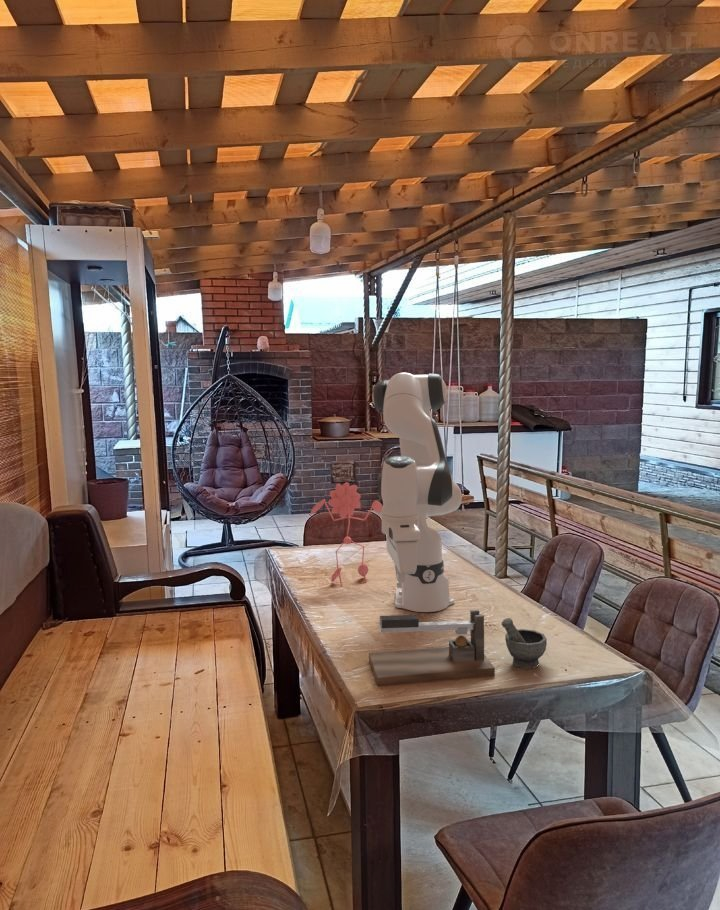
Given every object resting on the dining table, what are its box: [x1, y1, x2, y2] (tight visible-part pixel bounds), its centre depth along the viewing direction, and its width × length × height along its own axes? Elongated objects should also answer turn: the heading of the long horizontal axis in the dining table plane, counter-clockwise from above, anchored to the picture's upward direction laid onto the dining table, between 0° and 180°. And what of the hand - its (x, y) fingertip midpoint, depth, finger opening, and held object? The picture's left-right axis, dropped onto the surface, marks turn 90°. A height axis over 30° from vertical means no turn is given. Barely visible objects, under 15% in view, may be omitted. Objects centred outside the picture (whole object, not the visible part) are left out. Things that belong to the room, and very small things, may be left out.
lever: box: [379, 614, 475, 636], centre depth 158 cm, size 3×24×4 cm, turn 97°
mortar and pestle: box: [501, 617, 548, 670], centre depth 160 cm, size 11×9×12 cm
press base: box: [368, 609, 496, 687], centre depth 159 cm, size 14×28×13 cm, turn 97°
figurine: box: [309, 481, 383, 587], centre depth 231 cm, size 15×26×35 cm, turn 112°
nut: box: [454, 635, 468, 647], centre depth 160 cm, size 3×3×3 cm
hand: (400, 580), depth 158 cm, fingers closed
